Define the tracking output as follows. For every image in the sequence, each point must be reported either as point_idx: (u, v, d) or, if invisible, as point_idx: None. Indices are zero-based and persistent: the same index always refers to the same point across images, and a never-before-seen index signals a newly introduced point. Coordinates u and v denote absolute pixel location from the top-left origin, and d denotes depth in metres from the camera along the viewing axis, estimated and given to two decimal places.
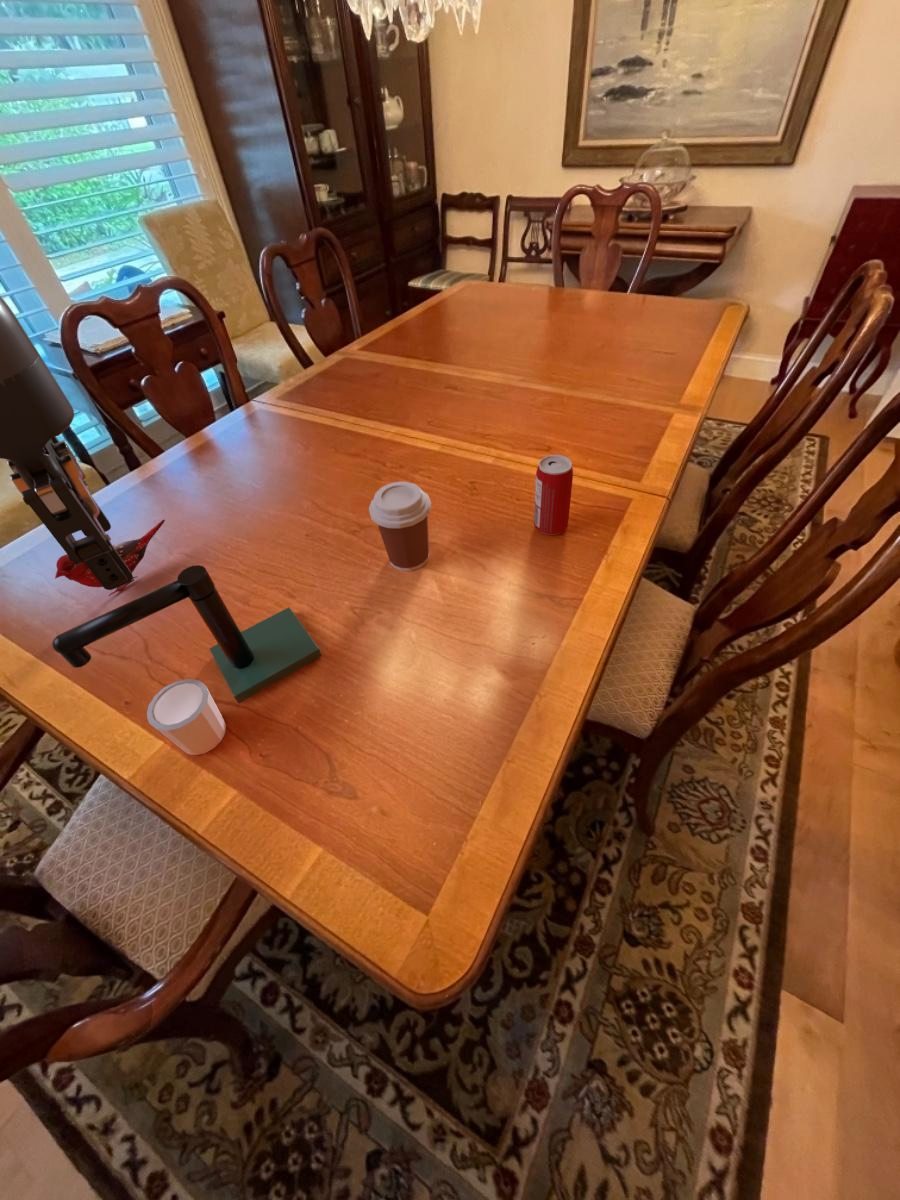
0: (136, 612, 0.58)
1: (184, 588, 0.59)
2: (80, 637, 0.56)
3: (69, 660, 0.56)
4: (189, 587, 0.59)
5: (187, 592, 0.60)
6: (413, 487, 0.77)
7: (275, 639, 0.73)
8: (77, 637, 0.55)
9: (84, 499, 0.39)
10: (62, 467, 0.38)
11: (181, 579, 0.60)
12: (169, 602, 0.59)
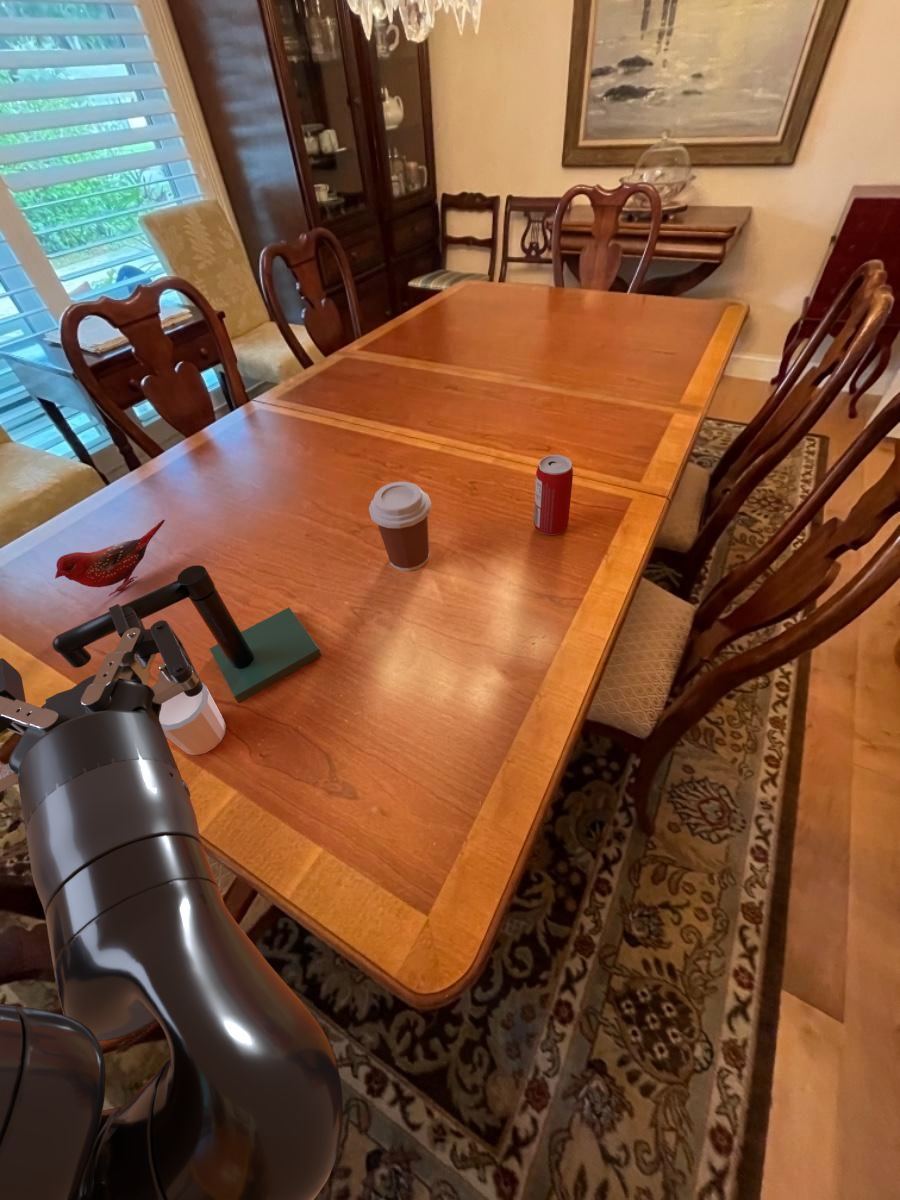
0: (136, 612, 0.58)
1: (184, 588, 0.59)
2: (80, 637, 0.56)
3: (69, 660, 0.56)
4: (189, 587, 0.59)
5: (187, 592, 0.60)
6: (413, 487, 0.77)
7: (275, 639, 0.73)
8: (77, 637, 0.55)
9: None
10: None
11: (181, 579, 0.60)
12: (169, 602, 0.59)
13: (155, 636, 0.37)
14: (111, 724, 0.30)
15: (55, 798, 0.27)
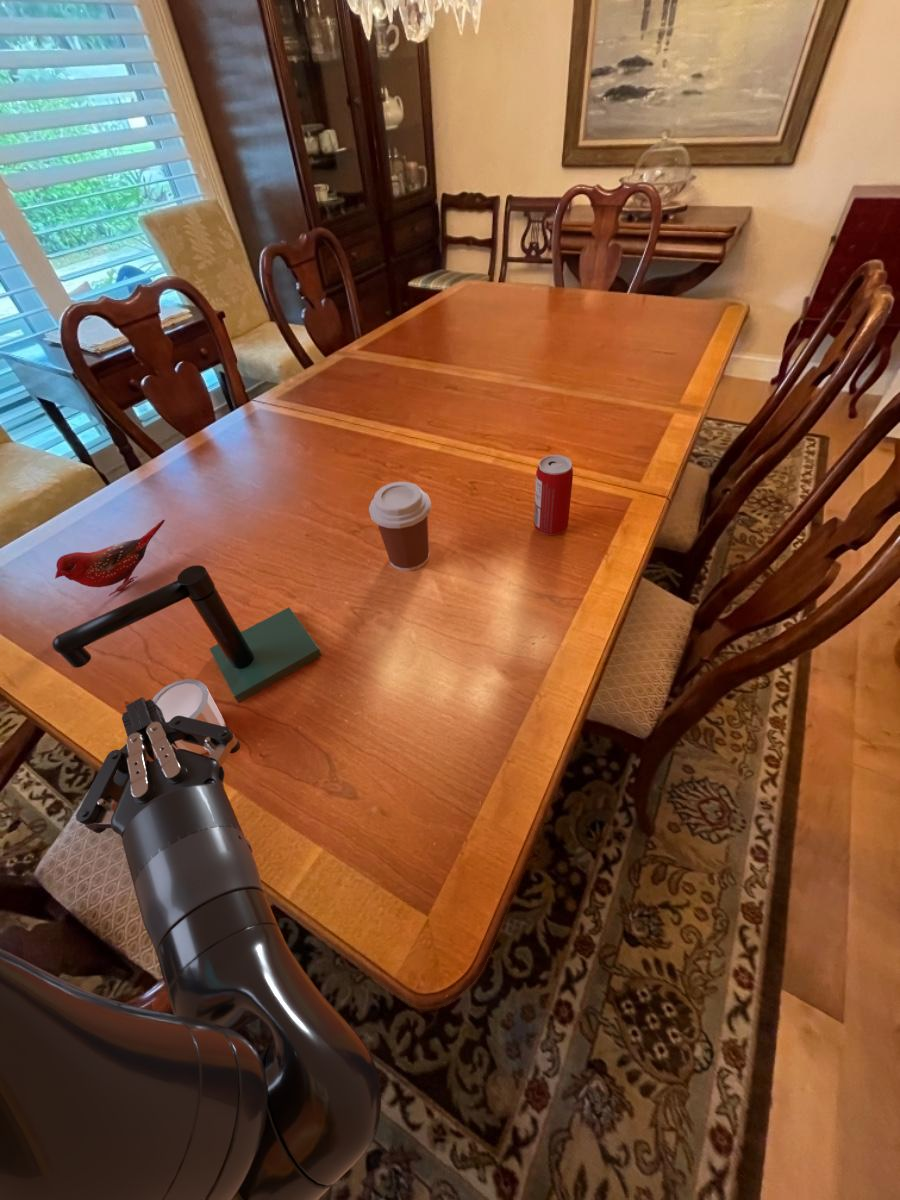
0: (136, 612, 0.58)
1: (184, 588, 0.59)
2: (80, 637, 0.56)
3: (69, 660, 0.56)
4: (189, 587, 0.59)
5: (187, 592, 0.60)
6: (413, 487, 0.77)
7: (275, 639, 0.73)
8: (77, 637, 0.55)
9: None
10: None
11: (181, 579, 0.60)
12: (169, 602, 0.59)
13: (180, 728, 0.46)
14: (193, 798, 0.39)
15: (158, 860, 0.36)
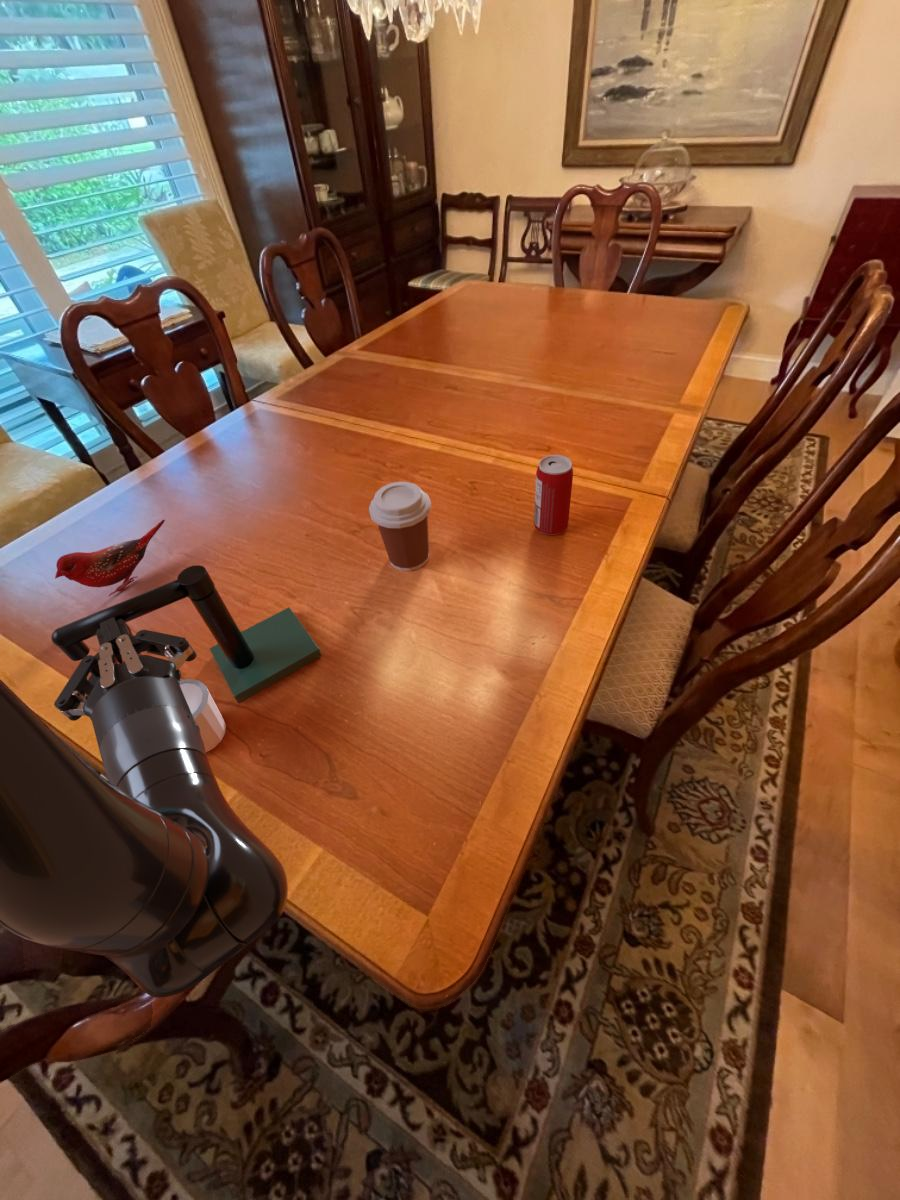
0: (134, 609, 0.58)
1: (183, 588, 0.59)
2: (78, 632, 0.56)
3: (67, 653, 0.57)
4: (188, 587, 0.59)
5: (186, 591, 0.60)
6: (413, 487, 0.77)
7: (275, 639, 0.73)
8: (75, 631, 0.56)
9: None
10: None
11: (181, 579, 0.60)
12: (167, 601, 0.59)
13: (144, 638, 0.54)
14: (150, 684, 0.47)
15: (119, 726, 0.44)
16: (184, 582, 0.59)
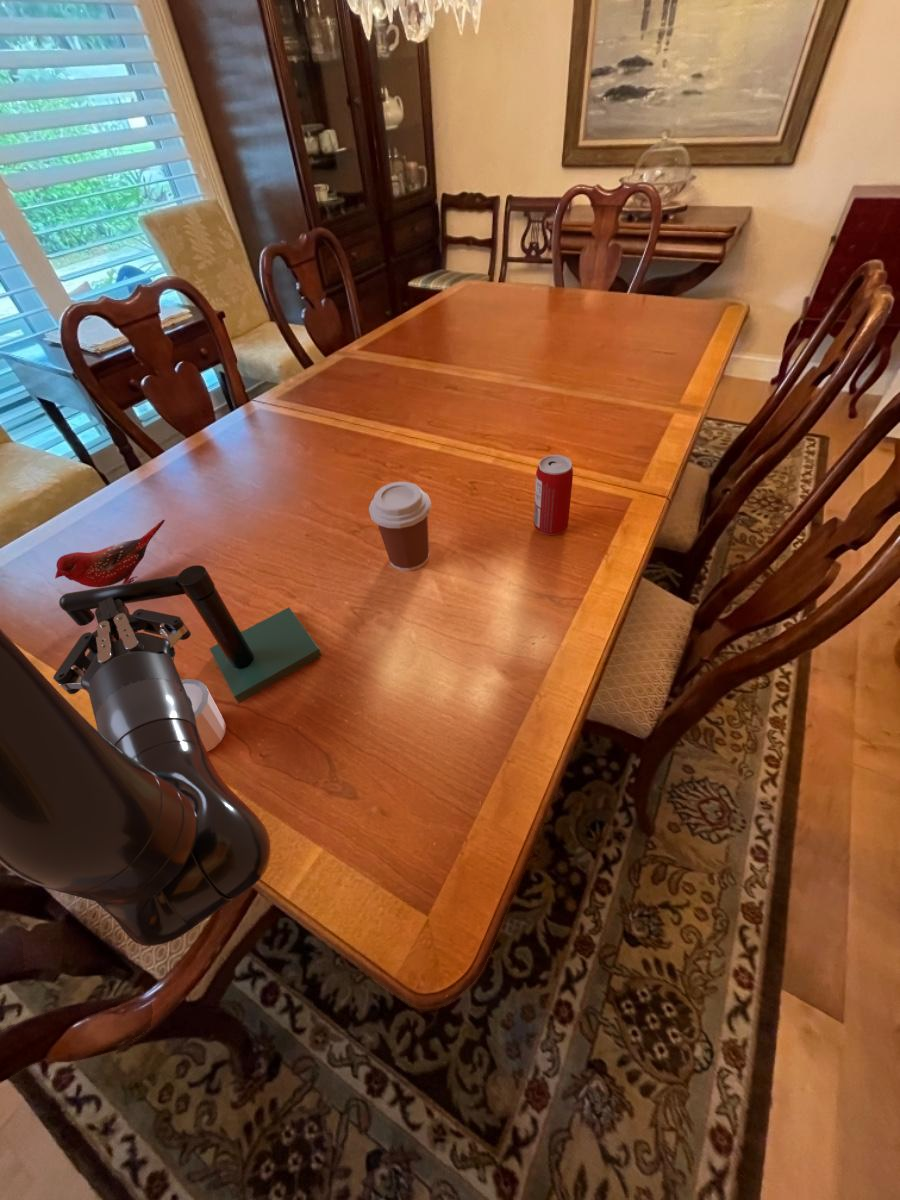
0: (132, 595, 0.60)
1: (180, 586, 0.60)
2: (80, 602, 0.59)
3: (71, 617, 0.61)
4: (183, 587, 0.59)
5: (182, 590, 0.60)
6: (413, 487, 0.77)
7: (275, 639, 0.73)
8: (78, 601, 0.59)
9: None
10: None
11: (181, 576, 0.60)
12: (164, 594, 0.60)
13: (141, 617, 0.56)
14: (144, 659, 0.50)
15: (113, 696, 0.46)
16: (181, 581, 0.59)
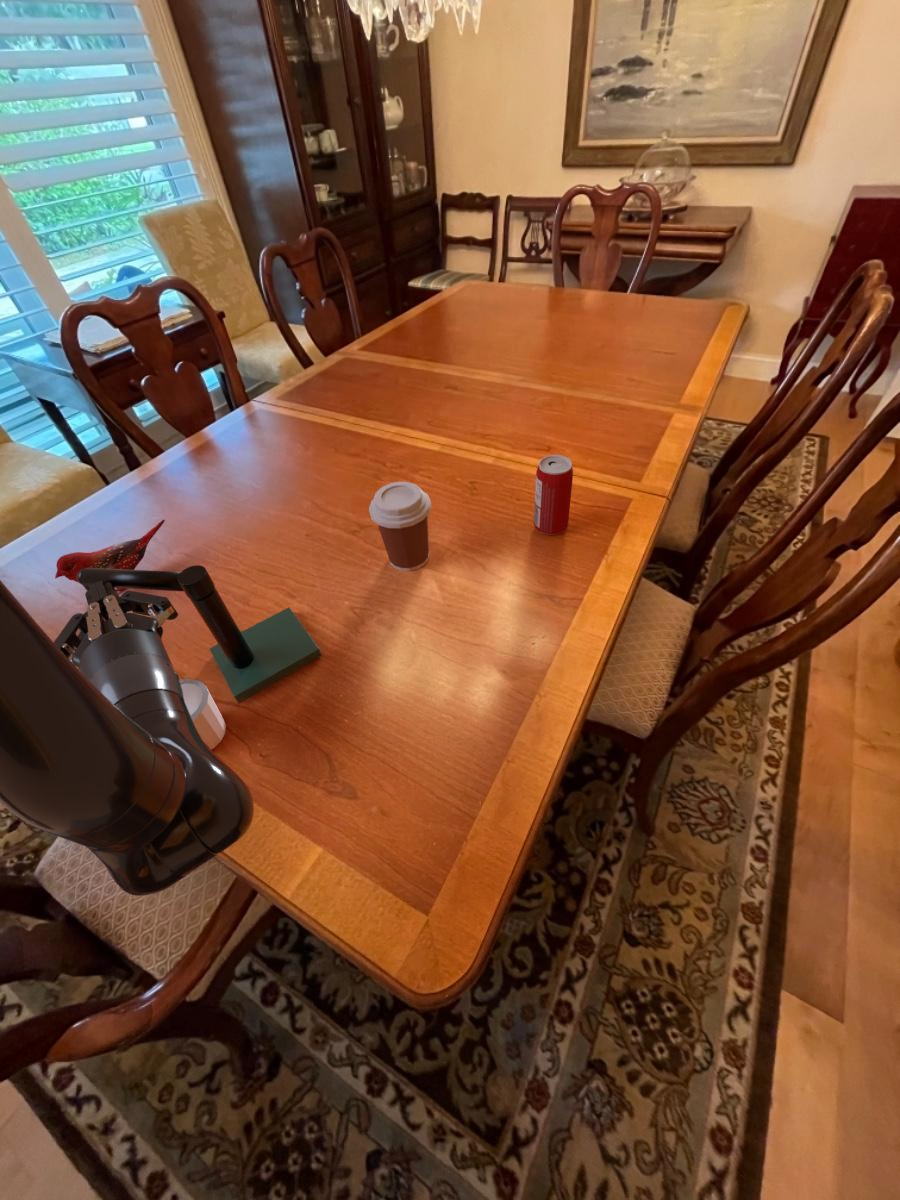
0: (137, 582, 0.61)
1: (179, 583, 0.60)
2: (93, 579, 0.62)
3: None
4: (180, 585, 0.60)
5: (181, 588, 0.60)
6: (413, 487, 0.77)
7: (275, 639, 0.73)
8: (91, 578, 0.62)
9: None
10: None
11: (182, 574, 0.60)
12: (164, 588, 0.61)
13: (129, 598, 0.58)
14: (133, 635, 0.52)
15: (103, 669, 0.48)
16: (180, 579, 0.60)
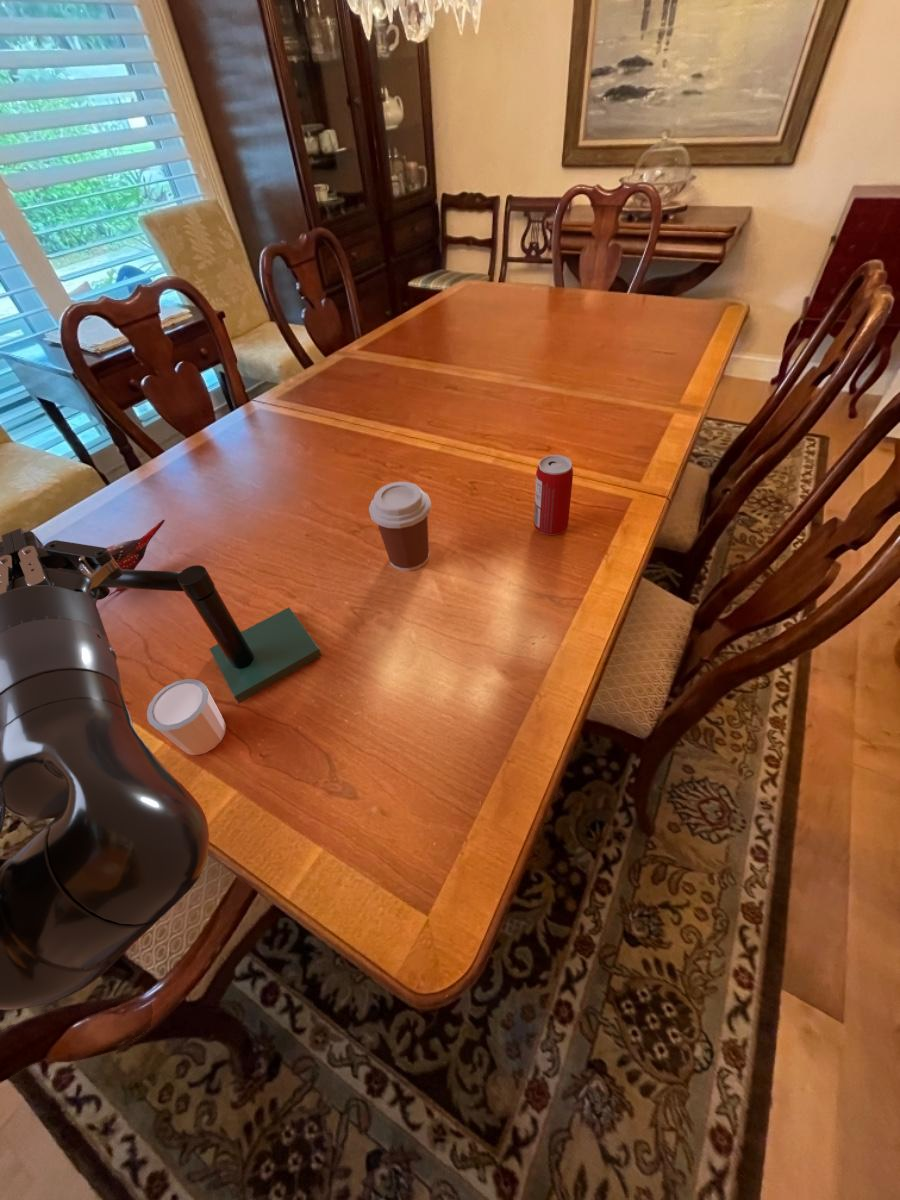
0: (137, 582, 0.61)
1: (179, 583, 0.60)
2: None
3: None
4: (180, 585, 0.60)
5: (181, 588, 0.60)
6: (413, 487, 0.77)
7: (275, 639, 0.73)
8: None
9: None
10: None
11: (182, 574, 0.60)
12: (164, 588, 0.61)
13: (55, 550, 0.42)
14: (48, 594, 0.36)
15: None
16: (180, 579, 0.60)
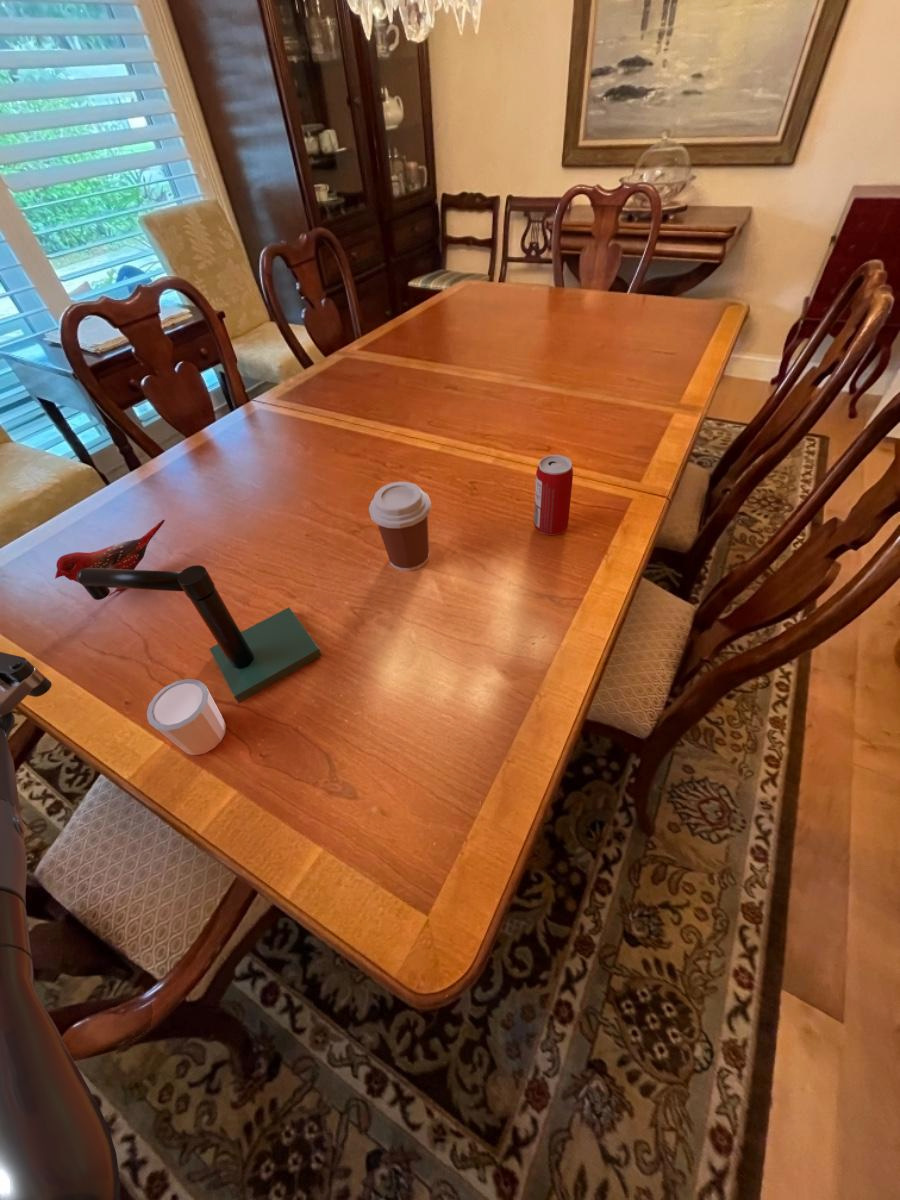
0: (137, 582, 0.61)
1: (179, 583, 0.60)
2: (93, 579, 0.62)
3: None
4: (180, 585, 0.60)
5: (181, 588, 0.60)
6: (413, 487, 0.77)
7: (275, 639, 0.73)
8: (91, 578, 0.62)
9: None
10: None
11: (182, 574, 0.60)
12: (164, 588, 0.61)
13: None
14: None
15: None
16: (180, 579, 0.60)
